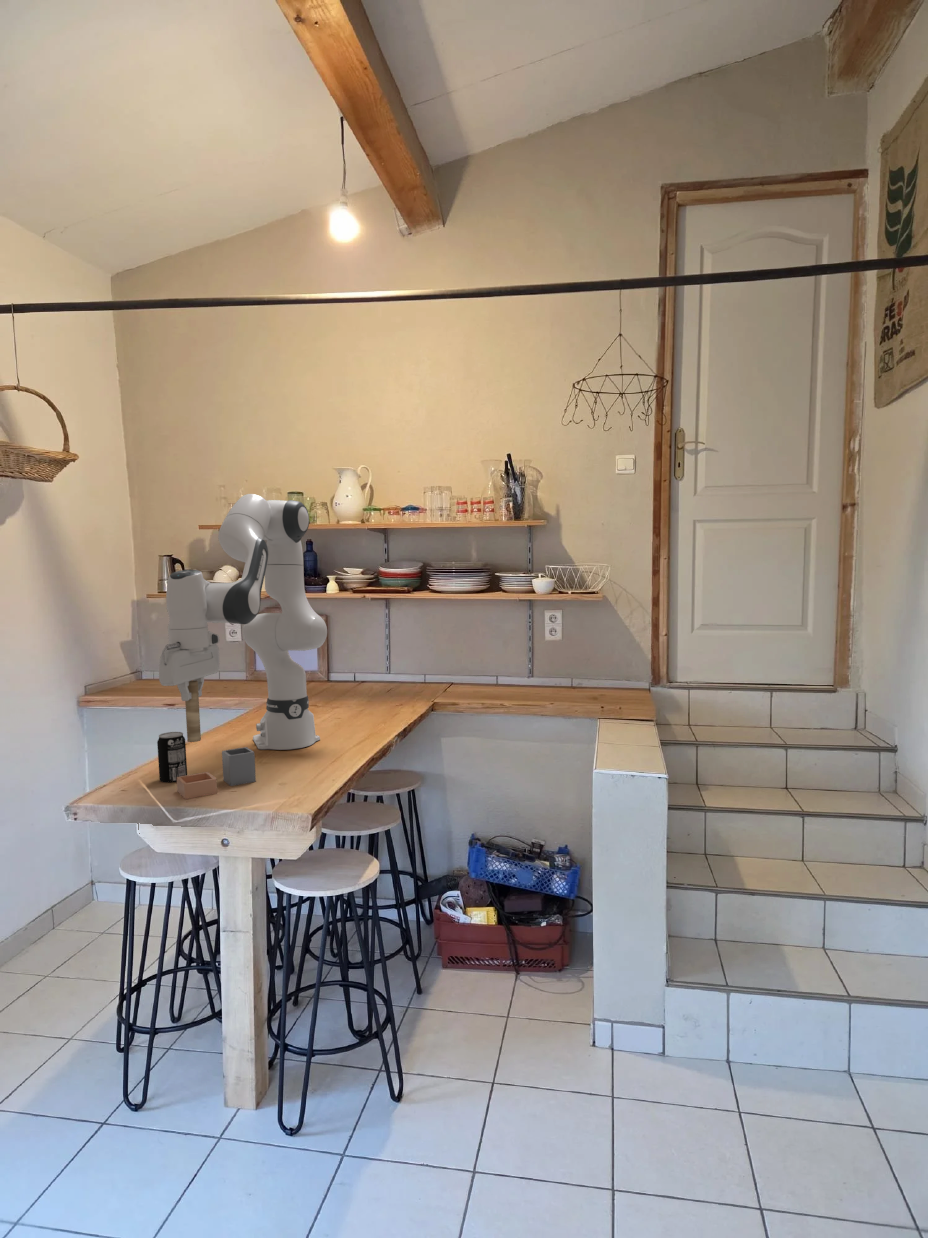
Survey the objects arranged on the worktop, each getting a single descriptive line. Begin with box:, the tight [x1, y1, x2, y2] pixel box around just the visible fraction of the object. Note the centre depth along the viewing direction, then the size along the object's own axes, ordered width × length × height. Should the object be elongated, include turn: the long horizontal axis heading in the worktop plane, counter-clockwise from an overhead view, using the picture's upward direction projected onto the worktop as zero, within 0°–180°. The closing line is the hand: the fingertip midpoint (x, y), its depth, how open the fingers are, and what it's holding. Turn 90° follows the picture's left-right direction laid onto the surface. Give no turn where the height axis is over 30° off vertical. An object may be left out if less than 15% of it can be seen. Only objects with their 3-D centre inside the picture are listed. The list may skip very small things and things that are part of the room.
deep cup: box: [221, 746, 257, 787], centre depth 195 cm, size 6×6×8 cm
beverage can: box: [156, 731, 188, 784], centre depth 198 cm, size 7×7×12 cm
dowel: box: [184, 680, 202, 743], centre depth 185 cm, size 3×3×14 cm
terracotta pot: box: [176, 771, 218, 800], centre depth 187 cm, size 7×7×4 cm
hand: (191, 698), depth 185 cm, fingers closed on dowel, 3 cm apart
